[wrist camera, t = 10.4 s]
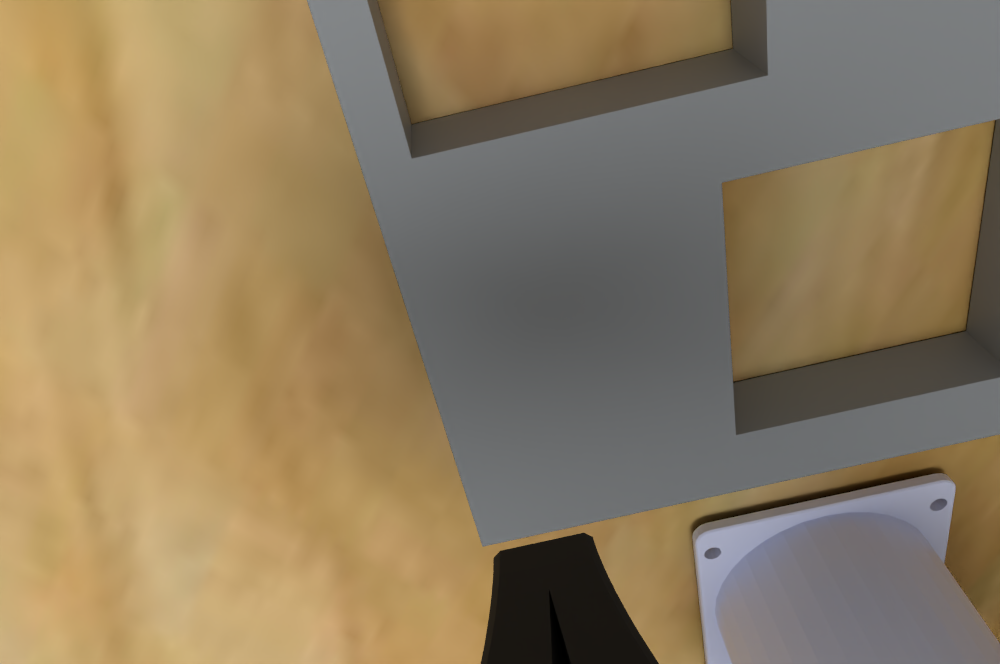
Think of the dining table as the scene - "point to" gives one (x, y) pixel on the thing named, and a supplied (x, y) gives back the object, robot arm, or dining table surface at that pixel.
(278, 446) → the dining table surface
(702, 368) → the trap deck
